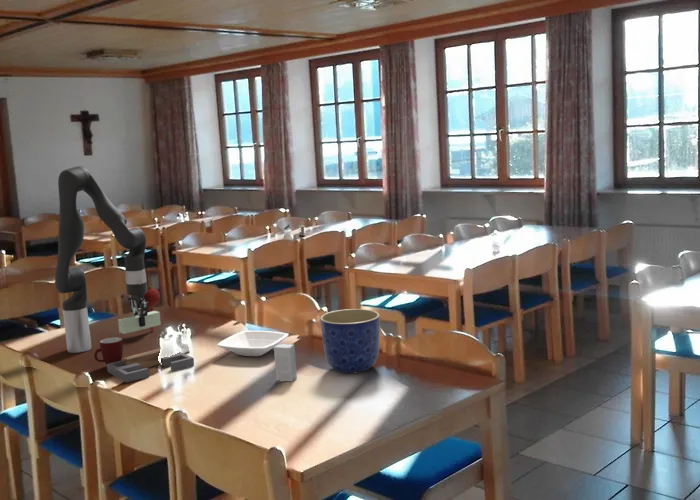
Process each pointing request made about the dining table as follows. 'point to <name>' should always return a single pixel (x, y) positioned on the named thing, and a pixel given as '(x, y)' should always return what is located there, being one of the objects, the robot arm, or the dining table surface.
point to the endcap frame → (136, 373)
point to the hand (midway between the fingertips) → (140, 325)
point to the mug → (110, 350)
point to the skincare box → (285, 362)
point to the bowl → (252, 342)
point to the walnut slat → (143, 359)
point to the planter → (351, 339)
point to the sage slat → (133, 322)
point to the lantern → (151, 298)
